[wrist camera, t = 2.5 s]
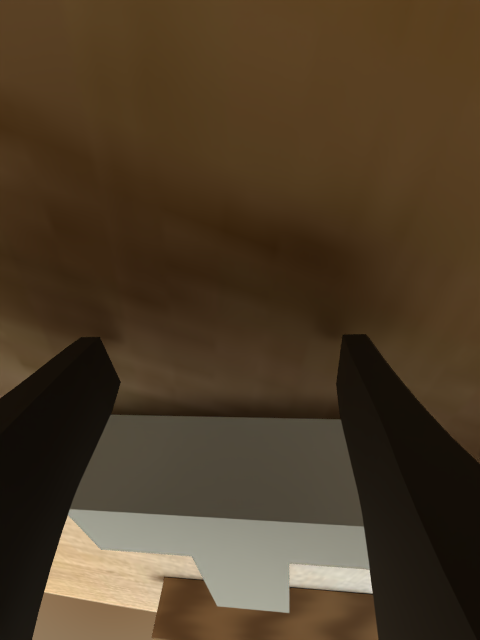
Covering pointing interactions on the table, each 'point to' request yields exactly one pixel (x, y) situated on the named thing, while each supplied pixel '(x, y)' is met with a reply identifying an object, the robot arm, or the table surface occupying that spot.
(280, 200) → the table surface
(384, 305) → the table surface
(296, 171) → the table surface
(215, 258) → the table surface
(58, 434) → the robot arm
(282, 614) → the bar
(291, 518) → the T block
